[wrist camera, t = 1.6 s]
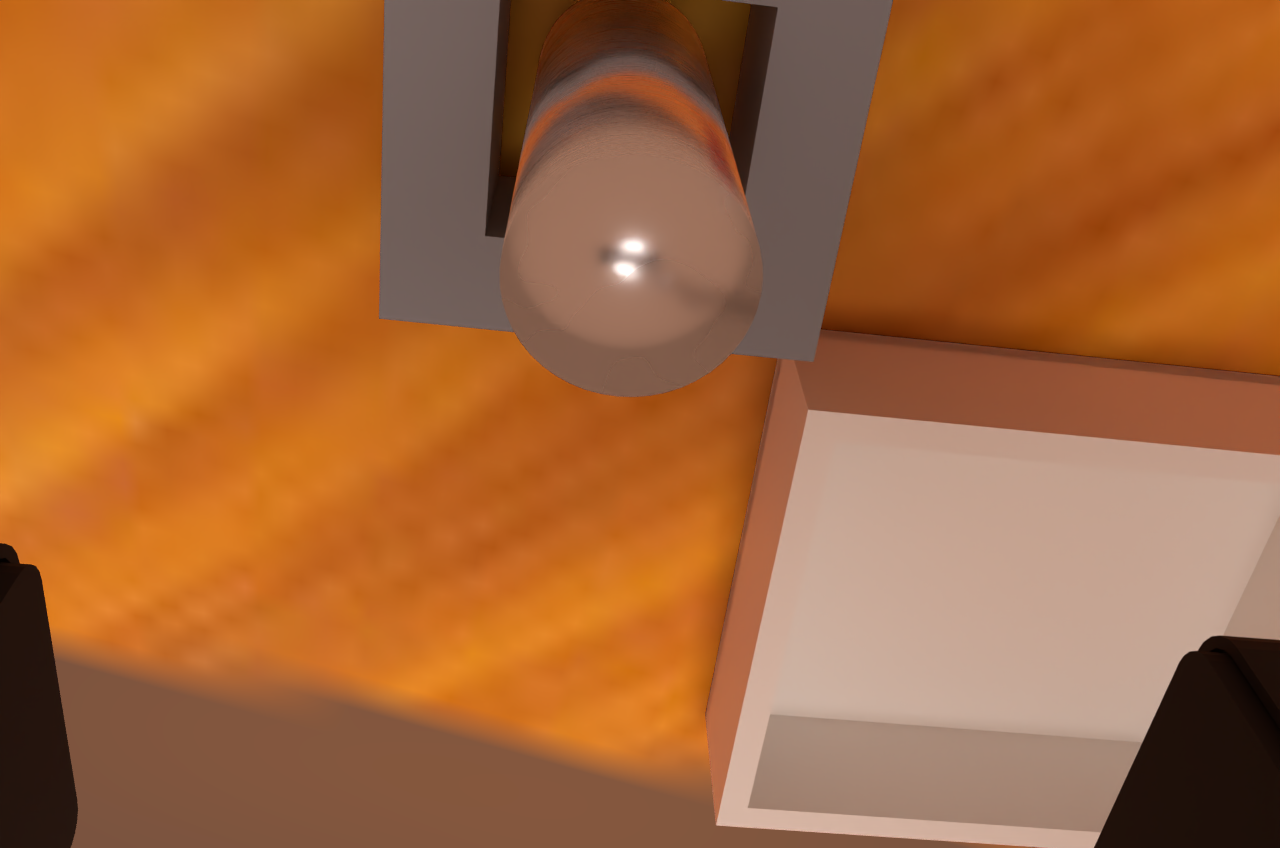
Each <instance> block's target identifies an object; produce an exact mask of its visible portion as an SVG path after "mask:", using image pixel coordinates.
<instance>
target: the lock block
mask: <svg viewBox="0 0 1280 848" xmlns="http://www.w3.org/2000/svg"><path fill="white" fill-rule="evenodd" d="M724 1H732V2H740V3H748V4H751V9H750V15H749V21H748V28H747V34H746V40H745V46H744V52H743V58H742V64H741V70H740V77H739V83H738V89H737V95H736V101H735V107H734V113H733V119H732V126H731V132H730V138H729V141H730V145H731V148H732V152H733V155H734V159H735V162H736V166H737V169H738V173H739V176H740V180H741V183H742V187H743V190H744V194H745V197H746V201H747V204H748V208H749V211H750V215H751V218H752V222H753V226H754V229H755V233H756V236H757V240H758V243H759V247H760V252H761V258H762V264H763V283H762V291H761V297H760V301H759V305H758V309H757V312H756V314H755V317H754V319H753V322H752V324H751V326H750V328H749V330H748V331H747V333H746V335H745V336H744V338H743V340H742V341H741V342H740V344H739V345H738V346H737V347H736V349H735V350H734V351H733V352H732V353H731V354H739V355H749V356H759V357H769V358H779V359H789V360H799V361H809V362H814V357H815V353H816V348H817V344H818V339H819V335H820V330H821V326H822V321H823V317H824V312H825V307H826V303H827V298H828V294H829V289H830V285H831V280H832V276H833V271H834V266H835V262H836V257H837V253H838V248H839V244H840V239H841V235H842V230H843V225H844V221H845V216H846V212H847V207H848V203H849V198H850V194H851V189H852V184H853V180H854V175H855V171H856V166H857V162H858V157H859V153H860V148H861V144H862V139H863V134H864V130H865V125H866V121H867V116H868V112H869V107H870V103H871V98H872V93H873V89H874V84H875V80H876V75H877V71H878V66H879V62H880V57H881V52H882V48H883V43H884V39H885V34H886V30H887V25H888V21H889V16H890V11H891V7H892V2H893V0H724ZM510 6H511V0H385V3H384V63H383V124H382V184H381V244H380V304H379V319H389V320H399V321H409V322H419V323H429V324H439V325H449V326H459V327H469V328H479V329H489V330H499V331H509V332H514V331H513V329H512V327H511V325H510V322H509V320H508V318H507V316H506V312H505V309H504V306H503V302H502V298H501V291H500V261H501V254H502V249H503V244H504V238H505V233H506V228H507V223H508V218H509V213H510V208H511V203H512V197H513V192H514V187H515V182H516V177H508V176H499V170H500V155H501V140H502V125H503V110H504V95H505V80H506V66H507V51H508V36H509V21H510Z"/></svg>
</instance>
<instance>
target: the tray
mask: <svg viewBox="0 0 1280 848" xmlns="http://www.w3.org/2000/svg"><path fill="white" fill-rule="evenodd" d="M1219 635H1221V636H1234V637H1247V638H1261V639H1274V640H1280V376H1272V375H1262V374H1253V373H1243V372H1233V371H1223V370H1214V369H1204V368H1194V367H1184V366H1174V365H1165V364H1155V363H1145V362H1135V361H1126V360H1116V359H1106V358H1096V357H1087V356H1077V355H1067V354H1057V353H1048V352H1038V351H1028V350H1018V349H1008V348H999V347H989V346H979V345H969V344H960V343H950V342H940V341H930V340H921V339H911V338H901V337H891V336H881V335H872V334H862V333H852V332H842V331H833V330H823V329H821V330H820V335H819V339H818V344H817V348H816V353H815V357H814V362H809V361H799V360H789V359H779V358H777V363H776V368H775V373H774V378H773V383H772V388H771V393H770V398H769V403H768V408H767V413H766V417H765V422H764V427H763V432H762V437H761V442H760V447H759V452H758V457H757V462H756V467H755V472H754V477H753V482H752V487H751V492H750V497H749V501H748V506H747V511H746V516H745V521H744V526H743V531H742V536H741V541H740V546H739V551H738V556H737V561H736V566H735V571H734V576H733V580H732V585H731V590H730V595H729V600H728V605H727V610H726V615H725V620H724V625H723V630H722V635H721V640H720V645H719V650H718V655H717V660H716V664H715V669H714V674H713V679H712V684H711V689H710V694H709V699H708V704H707V709H706V714H705V717H706V728H707V738H708V748H709V758H710V769H711V779H712V789H713V799H714V810H715V820H716V825H719V826H734V827H749V828H765V829H778V830H779V829H780V830H793V831H808V832H822V833H837V834H853V835H867V836H882V837H897V838H911V839H926V840H940V841H955V842H970V843H985V844H999V845H1014V846H1029V847H1044V848H1094V846H1095V844H1096V842H1097V840H1098V838H1099V835H1100V833H1101V831H1102V829H1103V827H1104V825H1105V822H1106V820H1107V818H1108V816H1109V814H1110V812H1111V809H1112V807H1113V805H1114V803H1115V801H1116V799H1117V796H1118V794H1119V792H1120V790H1121V788H1122V785H1123V783H1124V781H1125V779H1126V777H1127V775H1128V772H1129V770H1130V768H1131V766H1132V764H1133V762H1134V759H1135V757H1136V755H1137V753H1138V751H1139V749H1140V746H1141V744H1142V742H1143V740H1144V738H1145V736H1146V733H1147V731H1148V729H1149V727H1150V725H1151V722H1152V720H1153V718H1154V716H1155V714H1156V712H1157V709H1158V707H1159V705H1160V703H1161V701H1162V699H1163V696H1164V694H1165V692H1166V690H1167V688H1168V686H1169V683H1170V681H1171V679H1172V677H1173V675H1174V673H1175V670H1176V668H1177V666H1178V664H1179V662H1180V661H1181V659H1182V657H1183V656H1184V655H1185V654H1187V653H1188V652H1190V651H1198V649H1199V648H1200V646H1201V645H1202V643H1203V642H1204V641H1206V640H1207V639H1208V638H1210V637H1211V636H1219Z"/></svg>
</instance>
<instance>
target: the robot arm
mask: <svg viewBox="0 0 1280 848" xmlns="http://www.w3.org/2000/svg"><path fill="white" fill-rule="evenodd" d="M77 814H78V806H77V797H76V791H75V784H74V778H73V771H72V765H71V759H70V753H69V746H68V740H67V734H66V728H65V722H64V715H63V709H62V704H61V697H60V691H59V684H58V678H57V672H56V666H55V659H54V653H53V647H52V641H51V634H50V628H49V622H48V616H47V610H46V603H45V597H44V591H43V585H42V579H41V576H40V572H39V570H38V569H37V567H36V566H34V565H30V564H20V563H19V559H18V556H17V553H16V552H15V550H14V549H13V547H12V546H10V545H7V544H2V543H0V848H70V847H71V845H72V841H73V838H74V834H75V829H76V824H77ZM1094 848H1280V640H1274V639H1261V638H1247V637H1234V636H1221V635H1219V636H1211V637H1210V638H1208V639H1207V640H1206V641H1204V642H1203V643H1202V645H1201V646H1200V648H1199V649H1198V651H1190V652H1188V653H1187V654H1185V655H1184V656H1183V657H1182V659H1181V661H1180V662H1179V664H1178V666H1177V668H1176V670H1175V673H1174V675H1173V677H1172V679H1171V681H1170V683H1169V686H1168V688H1167V690H1166V692H1165V694H1164V696H1163V699H1162V701H1161V703H1160V705H1159V707H1158V709H1157V712H1156V714H1155V716H1154V718H1153V720H1152V722H1151V725H1150V727H1149V729H1148V731H1147V733H1146V736H1145V738H1144V740H1143V742H1142V744H1141V746H1140V749H1139V751H1138V753H1137V755H1136V757H1135V759H1134V762H1133V764H1132V766H1131V768H1130V770H1129V772H1128V775H1127V777H1126V779H1125V781H1124V783H1123V785H1122V788H1121V790H1120V792H1119V794H1118V796H1117V799H1116V801H1115V803H1114V805H1113V807H1112V809H1111V812H1110V814H1109V816H1108V818H1107V820H1106V822H1105V825H1104V827H1103V829H1102V831H1101V833H1100V835H1099V838H1098V840H1097V842H1096V844H1095V846H1094Z"/></svg>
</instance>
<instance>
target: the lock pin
mask: <svg viewBox="0 0 1280 848" xmlns="http://www.w3.org/2000/svg"><path fill="white" fill-rule="evenodd" d="M762 283H763V264H762V258H761V252H760V247H759V243H758V240H757V236H756V233H755V229H754V226H753V222H752V218H751V215H750V211H749V208H748V204H747V201H746V197H745V194H744V190H743V187H742V183H741V180H740V176H739V173H738V169H737V166H736V162H735V159H734V155H733V152H732V148H731V145H730V141H729V138H728V134H727V130H726V127H725V123H724V120H723V116H722V113H721V109H720V106H719V102H718V99H717V95H716V92H715V88H714V85H713V81H712V78H711V74H710V71H709V67H708V64H707V60H706V57H705V53H704V50H703V47H702V44H701V41H700V39H699V37H698V35H697V33H696V31H695V29H694V28H693V26H692V25H691V23H690V22H689V21H688V20H687V18H686V17H685V16H684V15H683V14H682V13H681V12H680V11H679V10H678V9H676V8H675V7H674V6H673V5H671V4H670V3H668V2H667V1H665V0H580V1H578V2H577V3H575V4H574V5H573V6H571V7H570V8H569V9H568V10H566V11H565V12H564V13H563V14H562V15H561V16H560V17H559V19H558V20H557V21H556V22H555V24H554V25H553V27H552V28H551V30H550V32H549V33H548V35H547V37H546V40H545V42H544V44H543V48H542V51H541V55H540V59H539V64H538V69H537V75H536V80H535V85H534V90H533V95H532V100H531V105H530V110H529V116H528V121H527V126H526V131H525V136H524V141H523V146H522V151H521V156H520V162H519V167H518V172H517V177H516V182H515V187H514V192H513V197H512V203H511V208H510V213H509V218H508V223H507V228H506V233H505V238H504V244H503V249H502V254H501V261H500V291H501V298H502V302H503V306H504V309H505V312H506V316H507V318H508V320H509V322H510V325H511V327H512V329H513V331H514V332H515V334H516V336H517V337H518V339H519V340H520V342H521V343H522V345H523V346H524V347H525V348H526V349H527V351H528V352H529V353H530V354H531V355H532V356H533V357H534V358H535V359H536V360H537V361H538V362H539V363H540V364H541V365H542V366H543V367H545V368H546V369H547V370H549V371H550V372H552V373H553V374H554V375H556V376H558V377H559V378H561V379H563V380H565V381H567V382H568V383H570V384H573V385H575V386H578V387H580V388H583V389H585V390H589V391H592V392H596V393H600V394H605V395H612V396H623V397H638V396H650V395H655V394H660V393H665V392H669V391H672V390H675V389H678V388H681V387H683V386H686V385H688V384H690V383H692V382H695V381H696V380H698V379H700V378H701V377H703V376H705V375H706V374H708V373H710V372H711V371H712V370H713V369H715V368H716V367H717V366H719V365H720V364H721V363H722V362H723V361H724V360H725V359H726V358H727V357H728V356H729V355H730V354H731V353H732V352H733V351H734V350H735V349H736V347H737V346H738V345H739V344H740V342H741V341H742V340H743V338H744V336H745V335H746V333H747V331H748V330H749V328H750V326H751V324H752V322H753V319H754V317H755V314H756V312H757V309H758V305H759V301H760V297H761V291H762Z"/></svg>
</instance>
